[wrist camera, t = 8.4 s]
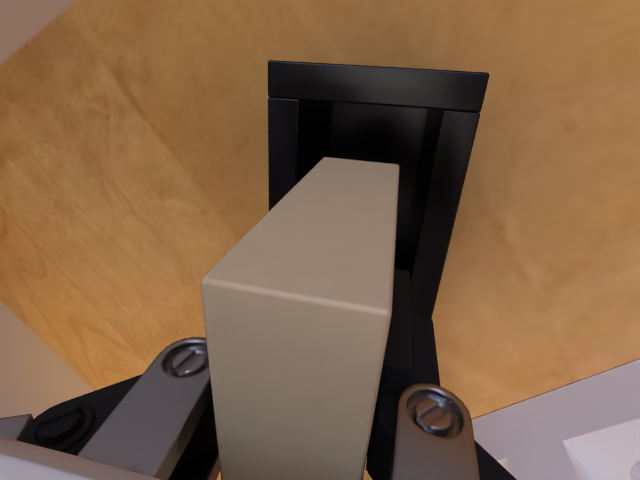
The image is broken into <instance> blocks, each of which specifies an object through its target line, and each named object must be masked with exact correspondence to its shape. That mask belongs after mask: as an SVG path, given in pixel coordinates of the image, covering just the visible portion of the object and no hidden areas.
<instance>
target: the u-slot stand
mask: <svg viewBox="0 0 640 480" xmlns="http://www.w3.org/2000/svg"><path fill="white" fill-rule="evenodd" d="M472 426H473V433H474V440H475V441H476V442H477V443H478V444H479V445H481V446H482V447H483V448H484V449H485V450H486V451H487V452H488V453H489V454H490V455H491V456H492V457H493V458H494V459H495V460H497V461H498V462H499V463H500V464H501V465H502V466H503V467H504V468H505V469H506V470H507V471H508V472H509V473H510V474H511V475H513V476H514V477H515V478H516V479H517V480H640V360H636V361H633V362H630V363H628V364H625V365H622V366H619V367H617V368H614V369H611V370H608V371H605V372H603V373H600V374H597V375H594V376H592V377H589V378H586V379H583V380H580V381H578V382H575V383H572V384H569V385H567V386H564V387H561V388H558V389H555V390H553V391H550V392H547V393H544V394H542V395H539V396H536V397H533V398H531V399H528V400H525V401H522V402H519V403H517V404H514V405H511V406H508V407H506V408H503V409H500V410H497V411H494V412H492V413H489V414H486V415H483V416H481V417H478V418H475V419H472Z"/></svg>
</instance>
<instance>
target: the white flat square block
mask: <svg viewBox="0 0 640 480" xmlns="http://www.w3.org/2000/svg"><path fill="white" fill-rule="evenodd" d="M398 186H399V165H397V164H388V163H378V162H368V161H358V160H349V159H339V158H329V157H324V158H323V159H322V160H321V161H320V162H319V163H318V164H317V165H316V166H315V167H314V168H313V169H312V170H311V171H310V172H309V173H308V174H307V175H306V176H305V177H304V178H303V179H302V180H301V181H300V182H298V183H297V184H296V185H295V186H294V187H293V188H292V189H291V190H290V191H289V192H288V193H287V194H286V195H285V196H284V197H283V198H282V199H281V200H280V201H279V202H278V203H277V204H276V205H275V206H274V207H273V208H272V209H271V210H270V211H269V212H268V213H267V214H266V215H265V216H264V217H263V218H262V219H261V220H260V221H259V222H258V223H257V224H256V225H255V226H254V227H253V228H252V229H251V230H250V231H249V232H248V233H247V234H246V235H245V236H244V237H243V238H242V239H241V240H240V241H239V242H238V243H237V244H236V245H235V246H234V247H233V248H232V249H231V250H230V251H229V252H228V253H227V254H226V255H225V256H224V257H223V258H222V259H221V260H220V261H219V262H217V263H216V264H215V265H214V266H213V267H212V268H211V269H210V270H209V271H208V272H207V273H206V274H205V275H204V276H203V277H202V280H201V283H200V284H201V293H202V302H203V312H204V321H205V330H206V340H207V349H208V358H209V368H210V377H211V386H212V396H213V405H214V414H215V424H216V433H217V442H218V452H219V461H220V470H221V480H362V479H363V474H364V468H365V462H366V457H367V451H368V445H369V440H370V434H371V428H372V423H373V417H374V411H375V406H376V400H377V395H378V389H379V383H380V378H381V372H382V366H383V361H384V355H385V349H386V344H387V338H388V332H389V327H390V321H391V315H392V299H393V280H394V261H395V242H396V223H397V205H398Z"/></svg>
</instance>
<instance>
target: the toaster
mask: <svg viewBox="0 0 640 480" xmlns="http://www.w3.org/2000/svg"><path fill="white" fill-rule="evenodd" d="M488 79H489V73H484V72H466V71H449V70H431V69H414V68H396V67H379V66H361V65H344V64H326V63H309V62H291V61H274V60H270V61H268V96H269V98H268V150H269V211H270V210H271V209H272V208H273V207H274V206H275V205H276V204H277V203H278V202H279V201H280V200H281V199H282V198H283V197H284V196H285V195H286V194H287V193H288V192H289V191H290V190H291V189H292V188H293V187H294V186H295V185H296V184H297V183H298V182H300V181H301V180H302V179H303V178H304V177H305V176H306V175H307V174H308V173H309V172H310V171H311V170H312V169H313V168H314V167H315V166H316V165H317V164H318V163H319V162H320V161H321V160H322V159H323V158H324V157H329V158H339V159H349V160H358V161H368V162H378V163H388V164H397V165H399V186H398V205H397V223H396V242H395V261H394V269H398V270H405V271H410V301H411V315H413V316H419V317H425V318H432V314H433V310H434V306H435V301H436V297H437V293H438V289H439V285H440V280H441V276H442V272H443V268H444V264H445V260H446V255H447V251H448V247H449V243H450V239H451V234H452V230H453V226H454V222H455V218H456V213H457V209H458V205H459V201H460V197H461V193H462V188H463V184H464V180H465V176H466V172H467V167H468V163H469V159H470V155H471V151H472V147H473V142H474V138H475V134H476V130H477V126H478V121H479V117H480V113H478V112H480V111H481V108H482V104H483V100H484V96H485V92H486V88H487V83H488Z"/></svg>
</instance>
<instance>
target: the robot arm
mask: <svg viewBox="0 0 640 480" xmlns="http://www.w3.org/2000/svg"><path fill="white" fill-rule="evenodd" d="M366 470H367V471H368V474H369V475H370V477H371V478H372V479H373V480H517V479H516V478H515V477H514V476H513V475H511V474H510V473H509V472H508V471H507V470H506V469H505V468H504V467H503V466H502V465H501V464H500V463H499V462H498V461H497V460H495V459H494V458H493V457H492V456H491V455H490V454H489V453H488V452H487V451H486V450H485V449H484V448H483V447H482V446H481V445H479V444H478V443H477V442H476V441H475V440H474V433H473V426H472V420H471V417H470V414H469V411H468V409H467V408H466V406H465V405H464V403H463V402H462V401H461V400H460V399H459V398H458V397H457V396H456V395H455V394H453V393H452V392H450V391H448V390H447V389H445V388H443V387H440V379H439V371H438V362H437V354H436V345H435V337H434V328H433V321H432V319H431V318H425V317H419V316H413V315H411V301H410V271H405V270H398V269H394V280H393V299H392V315H391V321H390V327H389V332H388V338H387V344H386V349H385V355H384V361H383V366H382V372H381V378H380V383H379V389H378V395H377V400H376V406H375V411H374V417H373V423H372V428H371V434H370V440H369V445H368V451H367V464H366ZM219 472H220V461H219V452H218V442H217V433H216V424H215V414H214V405H213V396H212V386H211V377H210V368H209V358H208V349H207V340H206V338H204V337H190V338H184V339H181V340H179V341H176V342H174V343H172V344H170V345H169V346H167V347H166V348H165V349H164V350H163V351H161V352H160V353H159V355H158V356H157V357H156V358H155V360H154V361H153V362H152V363H151V365H150V366H149V367H148V368H147V370H146V371H145V372H144V373H143V374H142V375H139V376H136V377H133V378H130V379H128V380H125V381H122V382H119V383H116V384H113V385H111V386H108V387H105V388H102V389H99V390H96V391H93V392H91V393H88V394H85V395H82V396H80V397H76V398H74V399H71V400H68V401H65V402H62V403H60V404H58V405H56V406H53V407H51V408H49V409H47V410H46V411H44V412H43V413H41V414H40V415H39V416H37V417H36V418H35V419H33V417H32V414H27V415H19V416H13V417H5V418H0V480H216V479H217V477H218V474H219Z"/></svg>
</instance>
